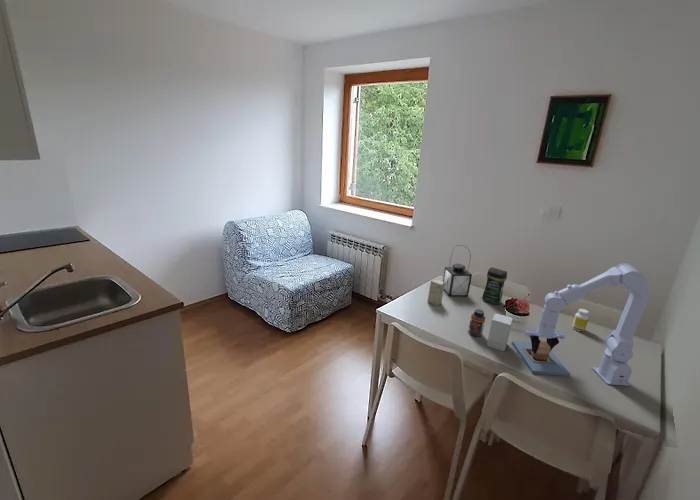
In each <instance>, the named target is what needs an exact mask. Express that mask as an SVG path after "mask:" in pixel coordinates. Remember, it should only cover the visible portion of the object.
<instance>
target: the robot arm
mask: <svg viewBox="0 0 700 500" xmlns="http://www.w3.org/2000/svg"><path fill="white" fill-rule="evenodd" d="M609 285H610V286H614V287H617V288H618V287H619V288H620V287H621V285H623V286H624V287H625V288H626V289H628V290H629V291H630V293H629V296H628V297H627V298H628V299H627V300H626V303H625V305H624V309H623V311H622V314H621V316H620V318H619V321H618V323H617V325H616V328H615V329H613V330H612V331H611V333H610V335H608V336H607V337H606V338H605V341H604V342H605V345H606V348H605V349H604V351H603V354H602V358H601V360H600V364H599V366H598V367H595V366H594V367H592V369H593V371H595V373H596V374H597V375H598V376H599V377H600V378H601V379H602V380H603V381H604V382H605V383H606V384H607V385H614V386H625V387H626V386H627V387H629V386H630V383H629V381H630V377H631V375H632V371H633V370H632V368H631V366H630V365H629V363H628V361H630V360H631V359H632V358H633V355H634V353H633V348H634V340H633V339H634V338H633V337H634V336H635V332H636V331H637V328H638V325H639V323H640V320H641V319H642V316H643V314H644V311H645V309H646V307H647V304H648V301H649V299H650V296H651V293H652V291H651V289H650V286H649V283H648V279H647V278H646V277H645V276H644V275H643V274H642V273H641V272H639V270H638V269H637V268H636V267H635V266H634V265H633V264H630V263H628V262H625V263H620V264H617V265H616V266H613V267H610V268H608V270H606V271H605V272H603V273H600V274H598V275H597V276H595V277H593V278H591V279H588V281H587V280H586V281H584V282H583V283H581V284H576V283H574V284H567V285H566V287H564V288H562V289H560V290H558V291H557V290H555V291H554V292H548V293H547V294H546V295H545V296H544V297H543V301H544V305H543V309H542V311H541V316H540V319H539V323H538V327H537V328H535V329H526V330H525V333H524V335H525V336H526V337H528V338H530V342H531V343H532V351H533V353H536V352H537V348H538V346H539V344H540V342H541V341H542V340H540V337H541V338H543V339H546V340H545V341H546V342H547V343H548V345H549V346H550V347H551V348H550V351H552V350H553V349H554V348H555V347H556V346H557V345H559V343H560V340H559V339H561V340H565V338H566V334H565V333H563V332H560V331H556V327H557V324H558V321H559V317H560V313H561V311H563V309H564V308H565V307H566V306H567V305H570V304H573V303H575V302H576V301H579V300H581V299H584V297H585V295H586V294H587V293H590V292H592V291H595V290H598V289H600V288H604V287H606V286H609ZM549 353H550V352H549Z"/></svg>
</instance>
